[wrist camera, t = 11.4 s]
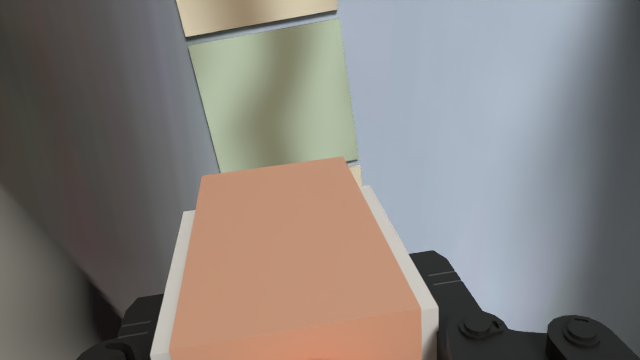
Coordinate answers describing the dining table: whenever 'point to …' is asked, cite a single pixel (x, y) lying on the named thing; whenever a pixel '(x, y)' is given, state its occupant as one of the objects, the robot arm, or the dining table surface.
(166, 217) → the dining table surface
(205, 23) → the track
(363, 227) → the orange-brown peg figure
